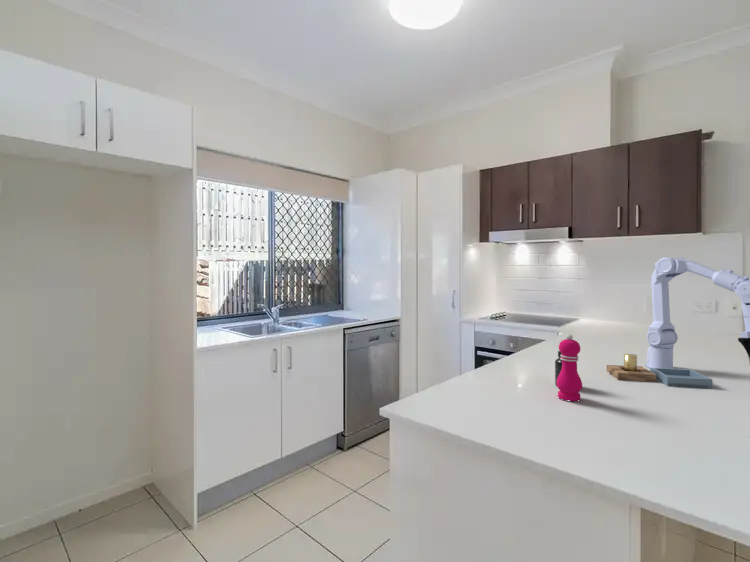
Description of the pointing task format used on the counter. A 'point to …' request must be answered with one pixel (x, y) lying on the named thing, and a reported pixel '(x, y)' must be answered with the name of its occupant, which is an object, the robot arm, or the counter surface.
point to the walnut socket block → (631, 373)
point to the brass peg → (630, 362)
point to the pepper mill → (569, 370)
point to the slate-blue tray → (681, 378)
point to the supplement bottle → (558, 366)
